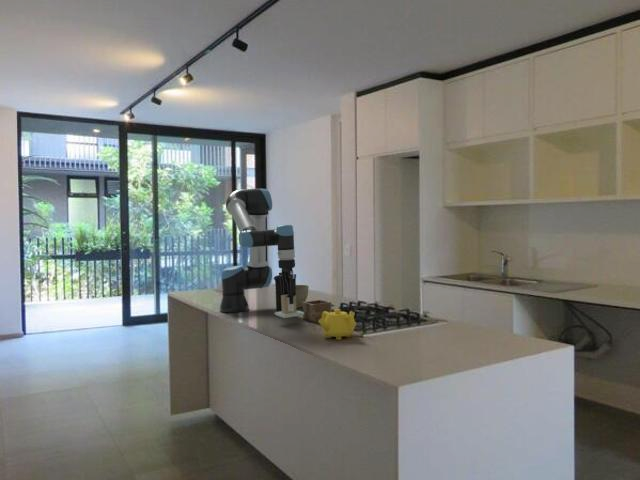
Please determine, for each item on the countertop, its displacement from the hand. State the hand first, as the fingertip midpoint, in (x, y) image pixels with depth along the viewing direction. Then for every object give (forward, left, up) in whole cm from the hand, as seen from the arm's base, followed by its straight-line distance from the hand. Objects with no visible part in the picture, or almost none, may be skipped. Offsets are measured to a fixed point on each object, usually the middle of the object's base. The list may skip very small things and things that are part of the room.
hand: (289, 310), depth 241 cm
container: (-22, +8, -6) cm, 24 cm away
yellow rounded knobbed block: (+36, +4, -6) cm, 37 cm away
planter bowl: (-39, +22, -6) cm, 45 cm away
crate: (-1, +15, -6) cm, 16 cm away
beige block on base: (0, 0, -2) cm, 2 cm away
